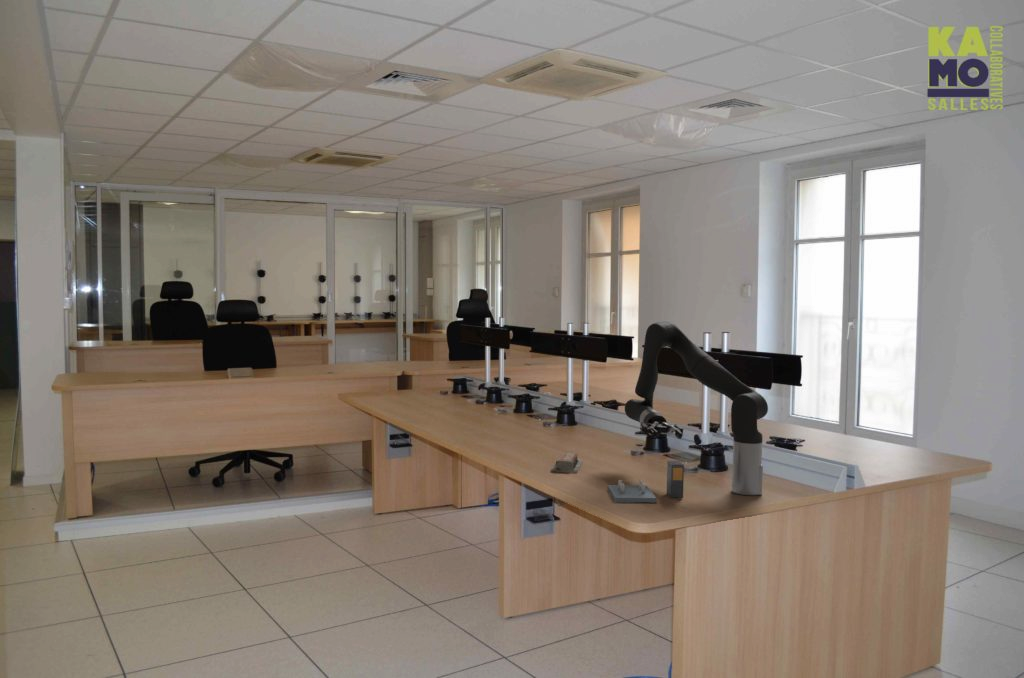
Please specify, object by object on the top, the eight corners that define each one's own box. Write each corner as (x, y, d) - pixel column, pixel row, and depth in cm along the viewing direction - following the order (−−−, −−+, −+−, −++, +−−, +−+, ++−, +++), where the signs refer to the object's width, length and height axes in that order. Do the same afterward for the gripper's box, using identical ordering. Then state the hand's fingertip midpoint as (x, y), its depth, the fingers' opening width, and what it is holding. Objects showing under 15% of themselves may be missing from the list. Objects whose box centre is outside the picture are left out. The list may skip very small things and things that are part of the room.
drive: (678, 493, 249) (679, 460, 249) (683, 498, 243) (684, 464, 243) (666, 493, 249) (667, 460, 249) (670, 498, 243) (671, 464, 243)
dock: (646, 489, 254) (646, 476, 253) (656, 502, 238) (656, 488, 237) (607, 489, 253) (608, 476, 253) (615, 502, 237) (615, 488, 237)
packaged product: (578, 461, 277) (551, 459, 279) (577, 474, 277) (550, 472, 279) (583, 451, 294) (558, 450, 296) (583, 463, 295) (557, 462, 297)
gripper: (635, 410, 270) (649, 423, 254) (673, 412, 272) (689, 425, 256) (632, 430, 271) (647, 445, 255) (670, 432, 273) (686, 447, 257)
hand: (668, 435), depth 256 cm, fingers open, 8 cm apart
